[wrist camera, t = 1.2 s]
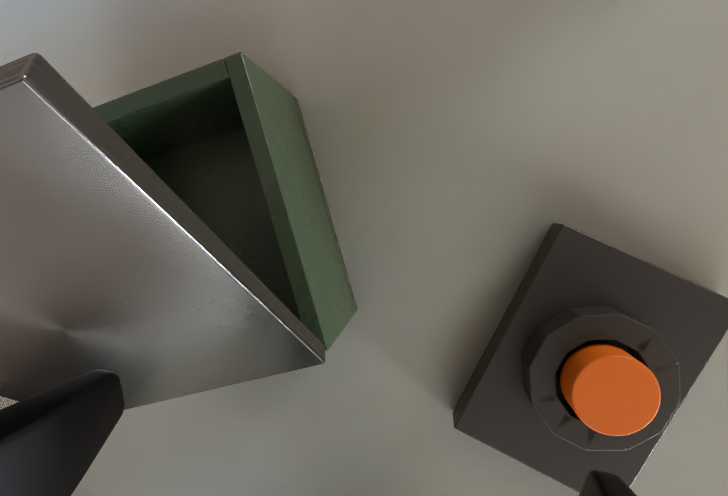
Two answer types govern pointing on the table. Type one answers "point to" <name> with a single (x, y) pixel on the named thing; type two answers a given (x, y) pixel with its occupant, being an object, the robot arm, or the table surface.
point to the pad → (574, 331)
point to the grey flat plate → (117, 264)
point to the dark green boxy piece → (245, 179)
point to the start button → (610, 389)
